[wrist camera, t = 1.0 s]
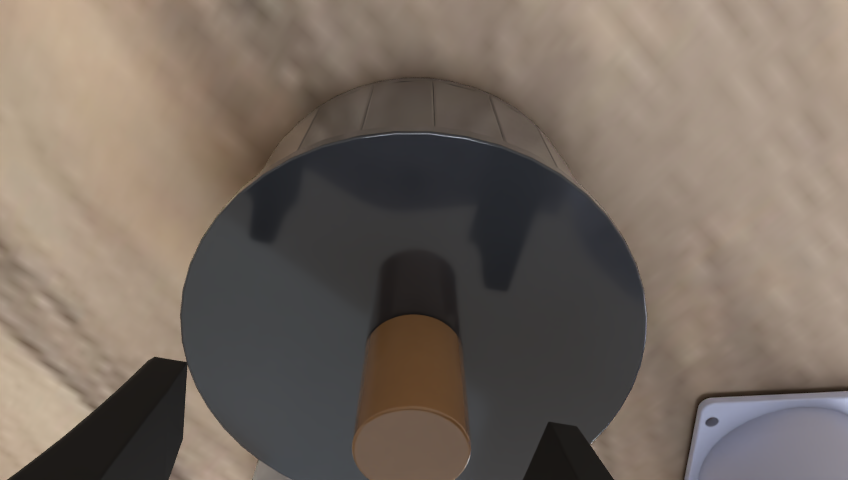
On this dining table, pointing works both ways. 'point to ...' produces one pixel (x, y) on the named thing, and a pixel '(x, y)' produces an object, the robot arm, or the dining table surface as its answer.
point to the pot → (419, 116)
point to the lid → (411, 309)
